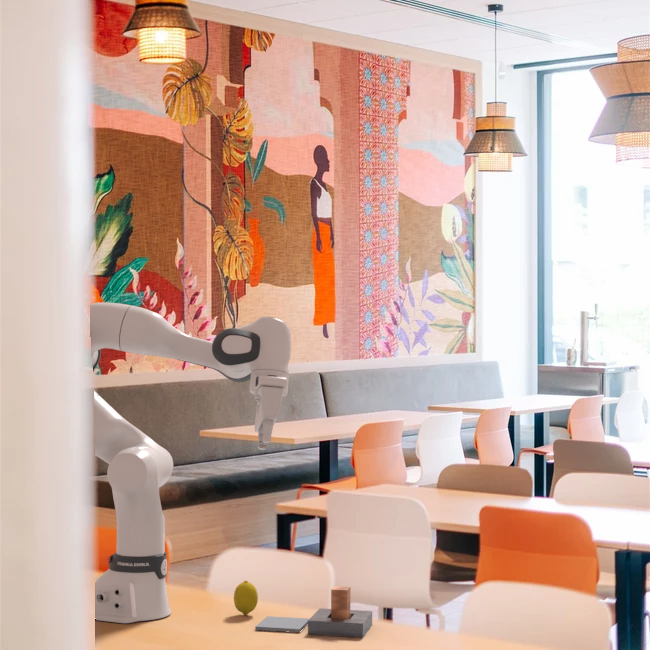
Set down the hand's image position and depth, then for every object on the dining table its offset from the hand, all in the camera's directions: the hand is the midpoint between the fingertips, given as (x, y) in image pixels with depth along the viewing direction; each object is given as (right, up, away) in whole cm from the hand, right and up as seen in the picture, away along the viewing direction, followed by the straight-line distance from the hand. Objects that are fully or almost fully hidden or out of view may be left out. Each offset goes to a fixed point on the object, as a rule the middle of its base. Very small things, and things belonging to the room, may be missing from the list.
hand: (264, 445), depth 241 cm
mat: (+4, -39, -5) cm, 40 cm away
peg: (+17, -39, -8) cm, 44 cm away
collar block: (+17, -39, -8) cm, 44 cm away
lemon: (-5, -40, +5) cm, 41 cm away
